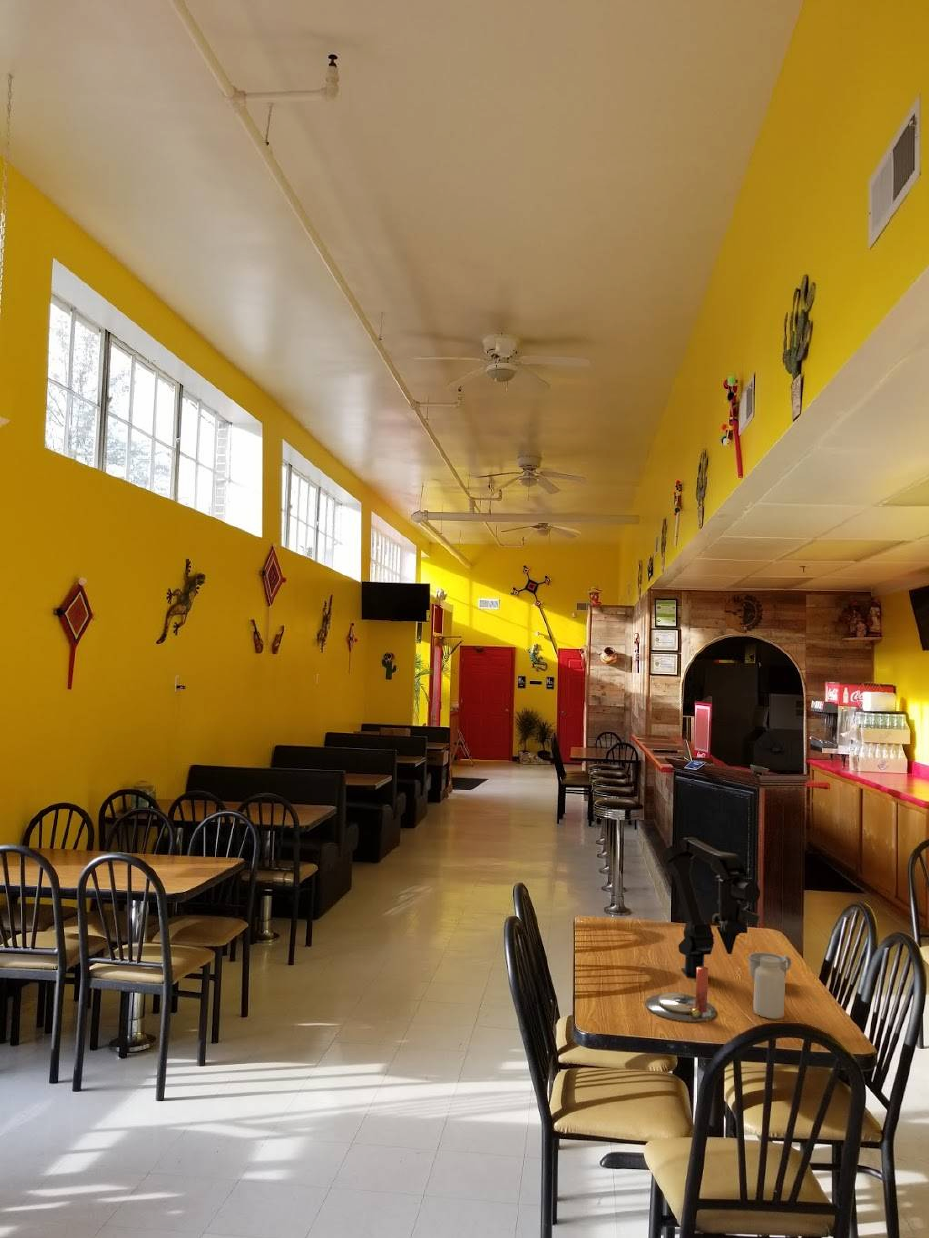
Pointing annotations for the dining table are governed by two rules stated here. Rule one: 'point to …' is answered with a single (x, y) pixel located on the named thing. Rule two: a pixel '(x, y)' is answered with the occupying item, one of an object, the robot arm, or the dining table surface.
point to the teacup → (756, 956)
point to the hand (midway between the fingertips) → (729, 953)
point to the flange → (689, 997)
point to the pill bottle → (769, 988)
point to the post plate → (658, 1010)
